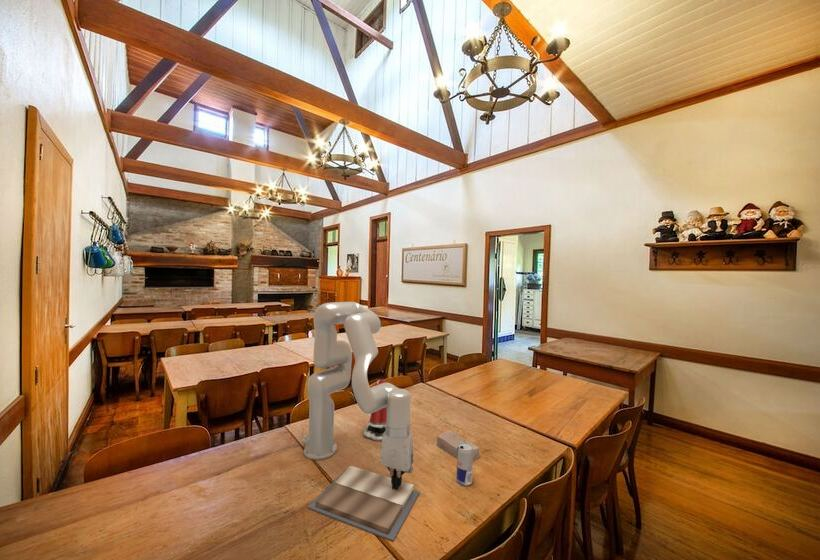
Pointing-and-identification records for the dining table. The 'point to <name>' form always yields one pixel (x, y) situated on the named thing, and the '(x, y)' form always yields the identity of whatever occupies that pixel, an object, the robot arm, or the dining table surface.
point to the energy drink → (464, 464)
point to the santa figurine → (377, 422)
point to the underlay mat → (390, 536)
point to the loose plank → (375, 485)
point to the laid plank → (360, 507)
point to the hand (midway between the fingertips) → (396, 486)
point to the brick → (454, 443)
